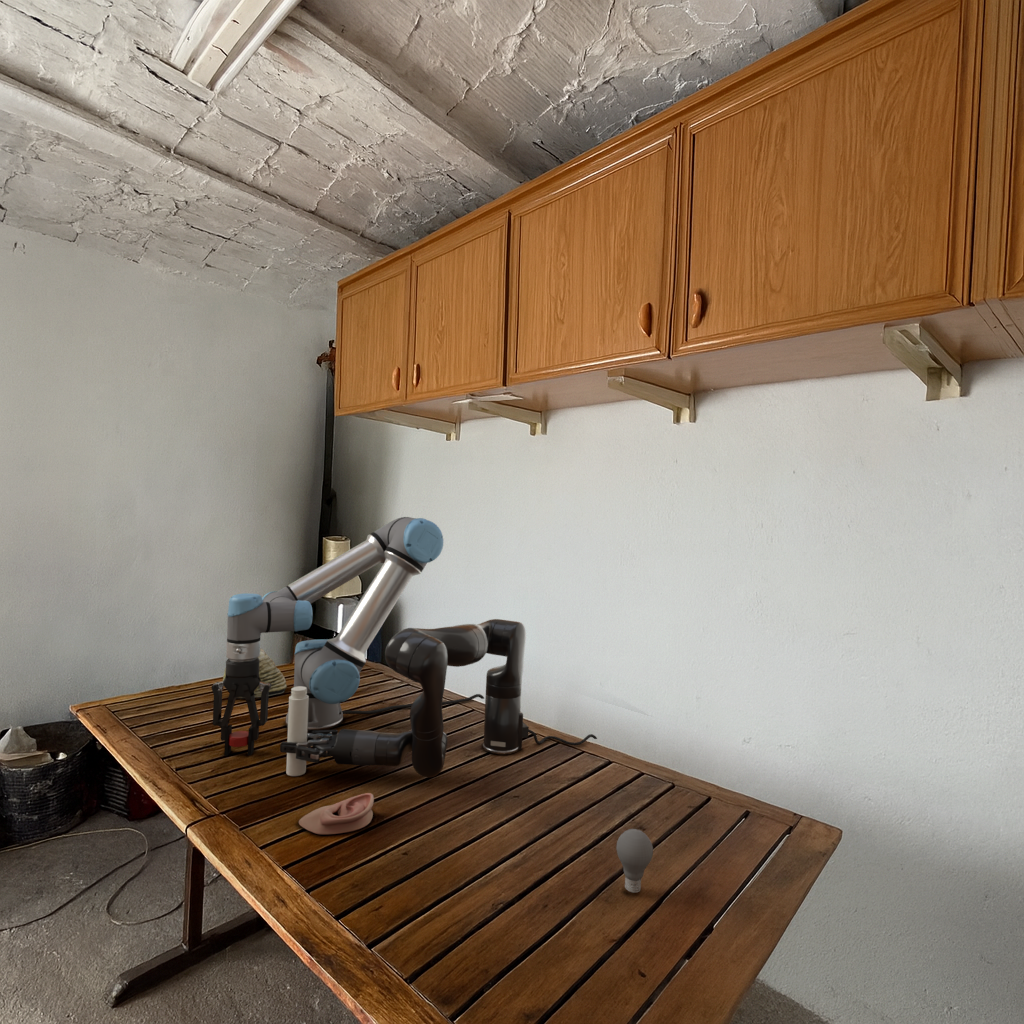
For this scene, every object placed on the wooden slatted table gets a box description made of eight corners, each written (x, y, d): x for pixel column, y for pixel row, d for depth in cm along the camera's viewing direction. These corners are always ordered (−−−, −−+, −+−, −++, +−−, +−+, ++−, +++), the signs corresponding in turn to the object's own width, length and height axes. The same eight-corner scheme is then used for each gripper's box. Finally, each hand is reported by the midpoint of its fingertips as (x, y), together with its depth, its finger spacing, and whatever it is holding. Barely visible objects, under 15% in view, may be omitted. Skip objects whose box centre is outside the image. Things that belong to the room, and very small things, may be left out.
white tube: (304, 767, 148) (307, 684, 147) (306, 774, 144) (310, 690, 144) (285, 769, 146) (288, 686, 146) (287, 777, 142) (290, 691, 142)
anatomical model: (290, 809, 120) (320, 783, 131) (289, 830, 120) (320, 802, 131) (355, 819, 117) (381, 791, 128) (355, 840, 117) (380, 811, 128)
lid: (232, 748, 151) (232, 739, 150) (226, 742, 154) (226, 733, 154) (253, 744, 154) (253, 735, 154) (246, 738, 157) (246, 729, 157)
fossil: (218, 695, 195) (220, 647, 195) (278, 685, 208) (279, 640, 207) (228, 703, 189) (230, 653, 188) (289, 692, 201) (290, 645, 201)
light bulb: (610, 879, 108) (613, 822, 108) (644, 879, 109) (647, 822, 109) (619, 902, 102) (622, 840, 102) (655, 901, 103) (658, 840, 103)
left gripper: (198, 661, 149) (195, 760, 149) (277, 662, 151) (273, 759, 151) (209, 653, 156) (206, 747, 157) (284, 654, 158) (280, 747, 159)
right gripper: (368, 720, 151) (297, 716, 152) (350, 743, 137) (272, 738, 138) (366, 751, 151) (296, 747, 152) (348, 777, 137) (271, 772, 138)
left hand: (239, 753), depth 154 cm, fingers closed on lid, 5 cm apart
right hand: (285, 742), depth 145 cm, fingers closed on white tube, 4 cm apart
